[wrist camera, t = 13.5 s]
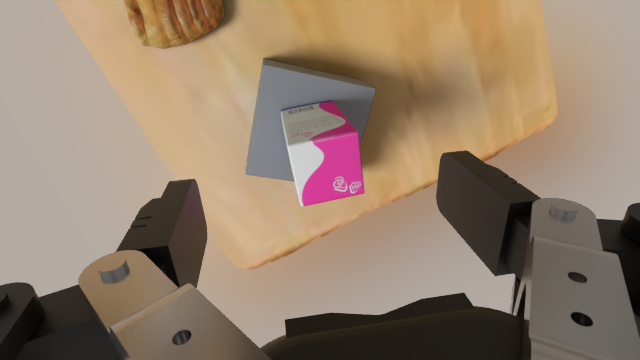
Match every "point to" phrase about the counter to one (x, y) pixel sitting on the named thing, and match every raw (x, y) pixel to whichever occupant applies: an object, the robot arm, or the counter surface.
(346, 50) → the counter surface
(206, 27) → the pastry
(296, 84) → the stacking block
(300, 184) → the supplement box
